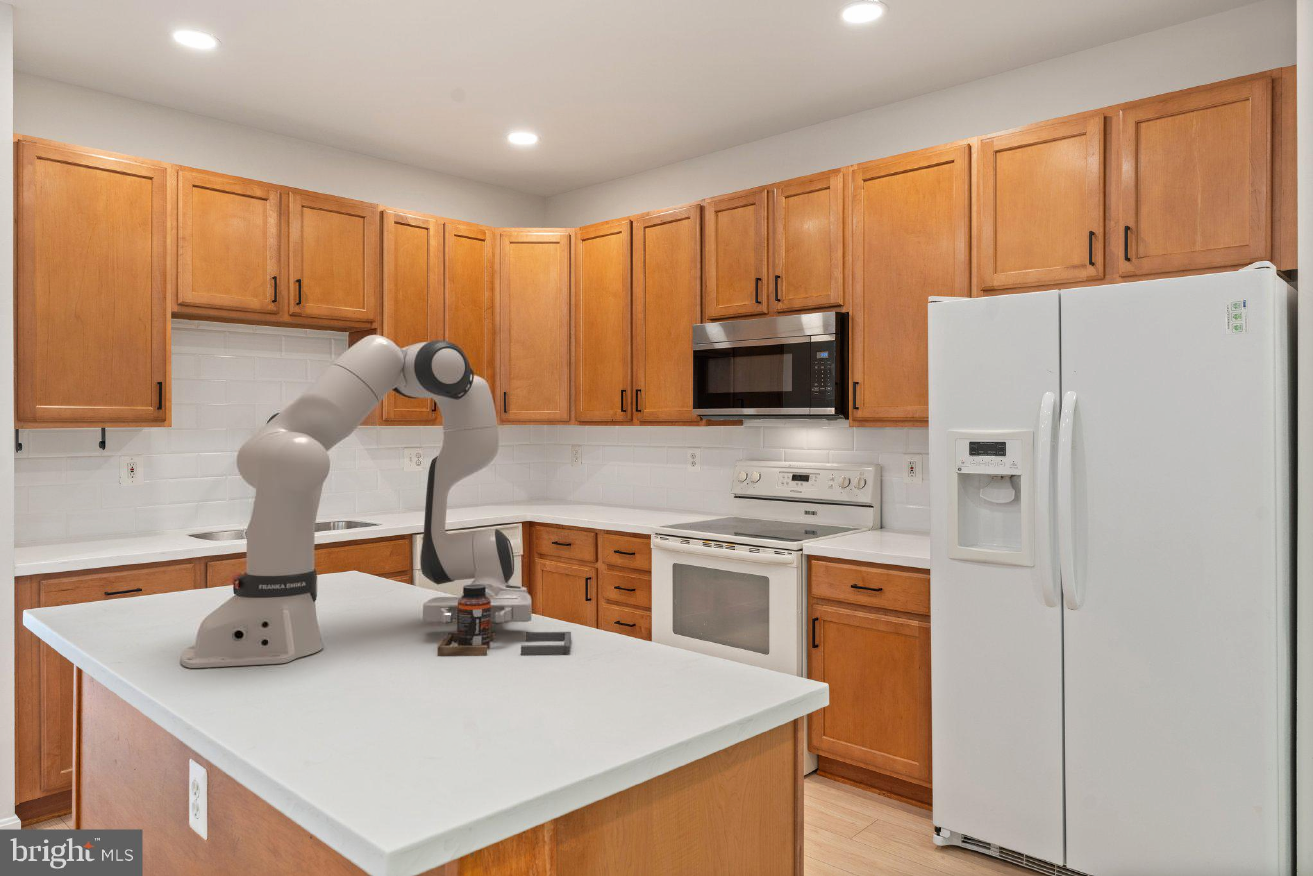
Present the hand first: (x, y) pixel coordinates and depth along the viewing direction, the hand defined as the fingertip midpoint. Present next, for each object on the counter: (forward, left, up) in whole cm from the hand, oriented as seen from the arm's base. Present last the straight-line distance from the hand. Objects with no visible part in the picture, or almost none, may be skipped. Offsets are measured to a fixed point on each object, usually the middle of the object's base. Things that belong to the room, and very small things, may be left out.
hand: (473, 618), depth 153 cm
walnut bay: (-1, +1, -6) cm, 6 cm away
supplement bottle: (0, +1, -6) cm, 6 cm away
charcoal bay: (+13, -4, -5) cm, 14 cm away
